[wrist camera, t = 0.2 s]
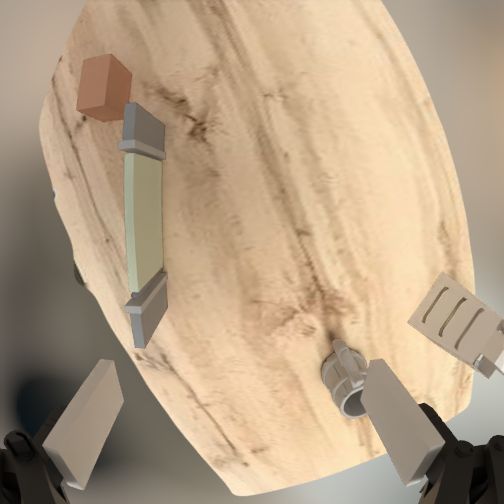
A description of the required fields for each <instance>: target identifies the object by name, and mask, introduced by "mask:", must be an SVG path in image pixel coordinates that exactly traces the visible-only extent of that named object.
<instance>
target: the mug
mask: <svg viewBox="0 0 504 504" xmlns="http://www.w3.org/2000/svg"><path fill="white" fill-rule="evenodd" d="M332 345H333V348H334V350H335V353H333V354H332V355H330V357H328V358H327V359H326V362H324V364H323V367H322V380H323V383H324V384H325V386H326V387H327V388H328V389H329V390H330V392H331V394H332V399H333V402H334V403H335V405H336V406H338V408H339V410H340V412H341V413H342V414H343V415H344V416H345V417H347V418H351V419H353V418H359V417H361V416H364V415H367V412H366V410H365V408H364V406H363V405H362V403H361V401H360V398H361V395H362V391H363V387H364V383H365V379H366V375H367V371H368V368H367V362H366V360H365V358H364V357H363V356H362V355H361V354H359V353H357V352H355V351H354V350H349V348H348V346H347V345H346V344H345V342H344V341H343V340H342V339H334V340H333V343H332Z"/></svg>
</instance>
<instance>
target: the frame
mask: <svg viewBox="0 0 504 504" xmlns="http://www.w3.org/2000/svg"><path fill="white" fill-rule="evenodd" d="M164 134H165V125H164V124H163V123H161V122H160V121H159V120H158V119H156V118H155V117H154V116H153V115H151V114H150V113H149V112H148V111H146V110H145V109H144V108H143V107H141V106H140V105H139V104H138V103H136V102H135V103H127V104H125V110H124V123H123V140H122V141H118V149H119V150H123V151H126V152H129V153H136V154H139V155H142V156H145V157H149V158H152V159H166V153H165V152H164ZM167 279H168V273H159V274H158V276H157V277H156V278H155V279H154V280H153V281H152V282H151V283H150V285H149V286H148V287H147V288H146V289H145V290H144V291H143V293H142V294H141V295H140V296H139V297H138V298H137V299H133V298H131V299H130V300H129V302H128V303H127V304H126V305H125V311H126V313H130V318H131V326H132V332H133V339H134V345H135V348H144V349H145V348H146V346H147V344H148V342H149V340H150V339H151V337H152V335H153V333H154V331H155V330H156V328H157V326H158V324H159V322H160V321H161V319H162V317H163V315H164V313H165V312H166V310H167V308H168V302H167V289H166V280H167Z"/></svg>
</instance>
